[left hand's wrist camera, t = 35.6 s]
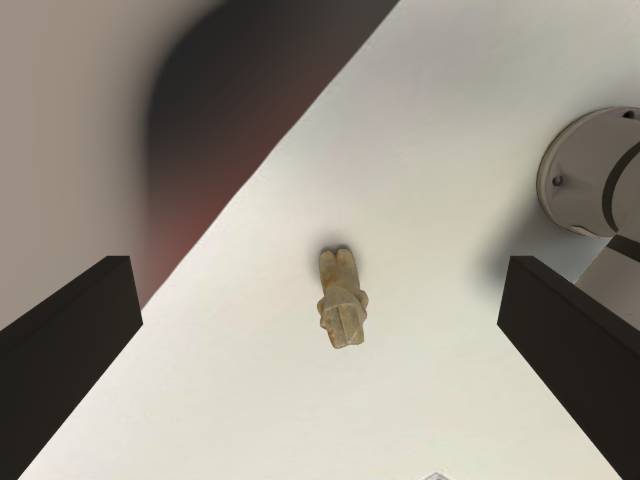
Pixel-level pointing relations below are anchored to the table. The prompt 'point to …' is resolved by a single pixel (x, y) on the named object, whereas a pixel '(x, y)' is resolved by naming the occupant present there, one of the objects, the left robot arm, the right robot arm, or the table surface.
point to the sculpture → (341, 299)
